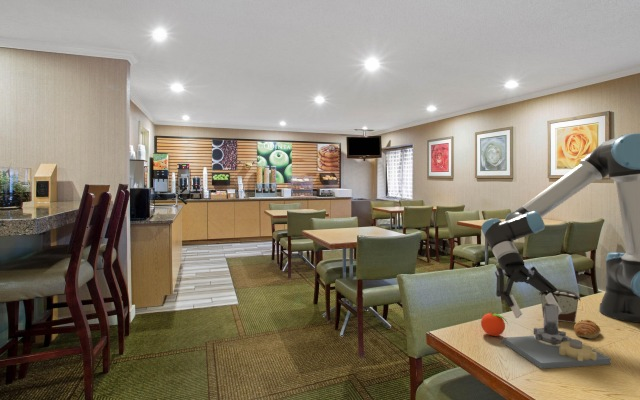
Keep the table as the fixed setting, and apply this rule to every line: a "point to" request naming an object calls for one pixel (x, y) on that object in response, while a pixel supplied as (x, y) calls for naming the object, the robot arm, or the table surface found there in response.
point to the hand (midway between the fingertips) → (539, 315)
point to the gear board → (556, 352)
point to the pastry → (587, 329)
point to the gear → (550, 327)
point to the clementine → (493, 324)
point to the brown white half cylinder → (564, 304)
